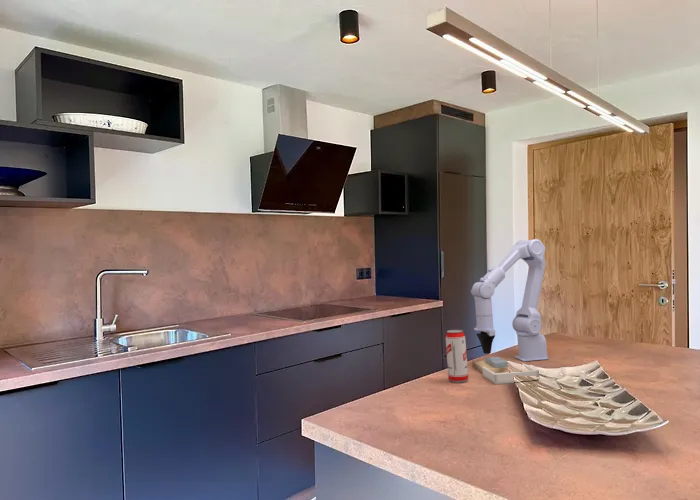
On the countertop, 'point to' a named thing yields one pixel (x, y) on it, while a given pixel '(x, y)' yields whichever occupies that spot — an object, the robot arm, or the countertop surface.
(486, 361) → the tile rear
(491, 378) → the tray
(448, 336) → the beer can
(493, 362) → the tile front
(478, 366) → the board
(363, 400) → the countertop surface
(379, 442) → the countertop surface
